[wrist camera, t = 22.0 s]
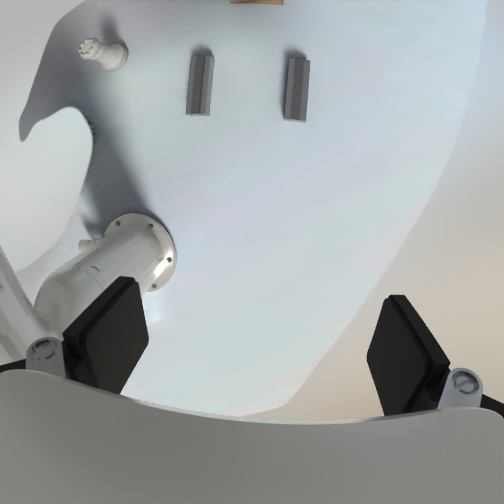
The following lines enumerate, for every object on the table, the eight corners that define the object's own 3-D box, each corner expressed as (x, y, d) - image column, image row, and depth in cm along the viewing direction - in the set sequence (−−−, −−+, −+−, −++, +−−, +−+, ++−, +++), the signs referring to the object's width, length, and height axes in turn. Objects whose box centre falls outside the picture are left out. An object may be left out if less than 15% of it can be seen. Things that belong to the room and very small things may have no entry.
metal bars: (190, 115, 33) (184, 114, 30) (196, 60, 30) (190, 55, 27) (304, 122, 32) (306, 120, 29) (308, 64, 29) (310, 59, 26)
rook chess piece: (100, 62, 30) (68, 52, 22) (119, 41, 28) (89, 26, 21) (113, 77, 31) (81, 68, 23) (134, 55, 29) (104, 41, 22)
